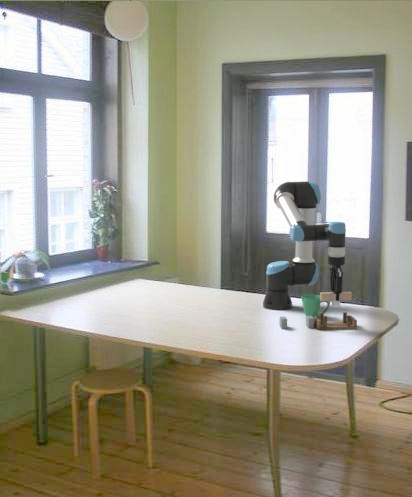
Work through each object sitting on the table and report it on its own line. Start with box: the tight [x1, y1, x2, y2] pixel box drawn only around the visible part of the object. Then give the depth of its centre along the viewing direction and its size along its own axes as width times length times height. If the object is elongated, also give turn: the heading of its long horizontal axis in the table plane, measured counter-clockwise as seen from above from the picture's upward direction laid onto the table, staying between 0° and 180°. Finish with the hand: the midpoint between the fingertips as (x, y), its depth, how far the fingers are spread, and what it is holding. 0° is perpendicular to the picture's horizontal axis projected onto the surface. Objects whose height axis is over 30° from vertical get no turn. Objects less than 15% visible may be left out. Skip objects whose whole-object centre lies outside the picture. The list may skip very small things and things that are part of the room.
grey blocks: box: [279, 315, 315, 330], centre depth 332 cm, size 5×15×4 cm, turn 96°
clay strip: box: [319, 291, 353, 302], centre depth 330 cm, size 3×14×4 cm, turn 96°
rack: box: [314, 311, 358, 331], centre depth 332 cm, size 9×18×6 cm, turn 96°
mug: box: [301, 294, 331, 318], centre depth 351 cm, size 15×10×10 cm
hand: (335, 306), depth 330 cm, fingers closed on clay strip, 3 cm apart
